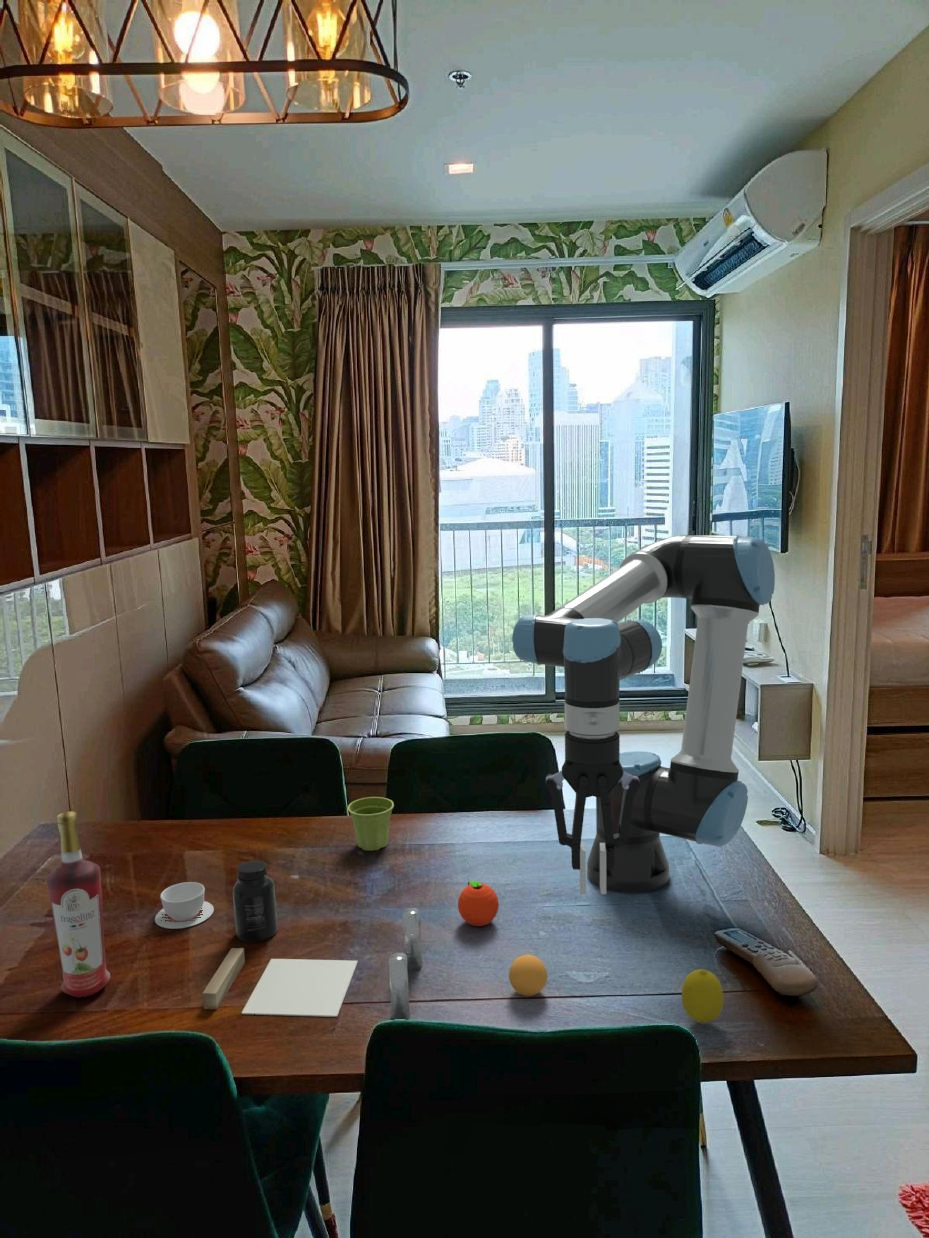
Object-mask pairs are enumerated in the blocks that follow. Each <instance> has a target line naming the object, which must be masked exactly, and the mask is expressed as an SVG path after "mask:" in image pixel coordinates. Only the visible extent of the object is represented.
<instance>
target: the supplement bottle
mask: <svg viewBox="0 0 929 1238" xmlns="http://www.w3.org/2000/svg"><path fill="white" fill-rule="evenodd" d="M267 868H268V867H267V863H266V862H264V861H262V860H250V861H246V862H243V863H241V864H240V865H238V866H237V868H236V869H237V871H236V872H237V876H236V878H237V881H236V883H235V884H234V886H233V888H232V898H233V909H234V921H235V931H236V932H235V933H236V936H237V938H238V939H239V940H241V941H242V942H245V943H260V942H262V941H263V942H264V941H266V940H268V939H270V938H272V937H273V936H274V935H275V934H276V933H277V932H278V931H277V930H278V915H277V902H276V892H275V889H276V888H275V883H274V880H273V879H272V878H271V877H269V876H268V869H267Z"/></svg>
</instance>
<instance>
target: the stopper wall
mask: <svg viewBox="0 0 929 1238" xmlns="http://www.w3.org/2000/svg"><path fill="white" fill-rule="evenodd" d="M245 964H246V960H245V948H244V947H238V948H235V947H232V948H230V950H229V951H228V953H227V954H226V955H225V957H224V959H223V960H222V962H221V964H220V965H219V967H218V969H217V970H216V972H215V973H214V974H213V976H212V978H211V979H210V981H209V982H208V984H207V986H206V987H205V989H204V990H203V992H202V1001H203V1002H202V1003H203V1009H204V1010H205V1009H206V1010H217V1009H219V1007H220V1005H221V1004H222V1002H223V1001H224V999H225V996H226V995H227V994H228V992H229V990H230V988H232V985H233V984H234V982H235V981H236V979H237V977H238V975H239V973H240V972H241V970H242V968H243V967H244V966H245ZM220 1003H221V1004H220Z"/></svg>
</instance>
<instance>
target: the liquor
mask: <svg viewBox="0 0 929 1238" xmlns="http://www.w3.org/2000/svg"><path fill="white" fill-rule="evenodd" d="M56 820H57V828H58V831H59V835H60V857H61V858H60V862H61V863H60V864H59V865H57V866H56V867H54V868H53V870H51V872H50V873H49V874H47V876H46V884H47V890H48V897H49V902H50V908H51V914H52V919H53V924H54V929H55V930H54V931H55V935H56V940H57V946H58V952H59V958H60V964H61V966H60V967H61V970H62V978H63V981H62V982H61V986H60V989H61V991H62V992H63V993H64V994H67V995H68V996H72V997H74V998H77V997H78V999H79V998H80V999H82V998H81V997H84V998H87V996H89V997H92V996H93V995H96V994H97V993H99V992H100V991H101V990H102V989H103V988H104V986H105V985H106V984H107V983H108V982H109V981H110V978H111V973H110V971H108V969H107V964H106V963H107V962H106V952H105V951H106V950H105V935H104V917H103V916H104V914H103V913H104V912H103V911H104V910H103V894H102V893H103V892H102V877H101V867H100V865H98V864H97V863H95V862H93V861H90V860H87V859H84V858H83V854H82V849H81V844H80V841H79V836H78V829H79V822H78V821H79V820H78V814H77V812H76V811H65V812H61V813H59V814H57V816H56ZM95 993H96V994H95ZM91 995H92V996H91Z"/></svg>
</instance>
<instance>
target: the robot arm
mask: <svg viewBox="0 0 929 1238" xmlns="http://www.w3.org/2000/svg"><path fill="white" fill-rule="evenodd" d="M775 577H776V575H775V566H774V560H773V556H772V553H771V550H770V548H769V546H768V545H767V544H766V542H765V541H764V540H762V539H760V538H759V537H751V536H744V535H743V536H742V535H737V534H736V535H694V534H693V535H692V534H680V535H673V536H669V537H666V538H663V539H659V540H657V541H655V542H652V543H650V544H647V545H645V546H643V547H642V548H641V547H640V548H639V549H637V550H636V551H634V552H632V553H631V554H629V555H628V556H626V557H625V558H624V559H623V560H622V561H621V563H620V565H619V568H618V569H616V570H615V571H613V572H611V573H610V574H608V575H607V576H606V577H604V578H602V579H600V581H598V582H596V583H595V584H593V585H592V586H590V587H588V588H587V589H585V590H584V591H582V592H581V593H579V594H577V595H576V596H574V597H573V598H572V599H570V600H569V601H567V602H565V603H563V605H561V606H560V607H557V608H556V609H554V610H553V611H552V612H550V613H548V614H546V615H541V614H539V613H537V614H536V613H535V614H525V615H523V616H521V617H520V618H519V619H518V620H517V622H516V623H515V625H514V626H513V631H512V637H511V642H512V649H513V653H514V654H515V656H516V658H518V659H519V660H521V661H523V662H526V663H527V662H528V663H533V664H536V665H537V666H538V665H539V666H540V665H545V666H552V667H559V668H563V670H564V671H563V673H564V678H563V679H564V703H563V704H564V706H563V707H564V729H565V730H566V732H565V733H564V763H563V764H562V767H561V770H560V771H558V772H556V773H553V774H552V773H547V774H546V776H545V786H546V787H547V790H548V791H549V793H550V795H551V799H552V805H553V810H554V817H555V825H556V826H555V827H556V830H557V832H556V833H557V837H558V843H559V845H561V846H568V847H569V848H570V850H571V867H572V870H579V890H580V891H579V892H580V895H587V893H586V891H587V890H586V889H587V885H586V884H587V883H586V882H587V880H586V879H587V877H588V879H589V880H590V881H591V882H592V883H593V884H594V885H597V886H598V887H599V890H600V895H607V890H608V891H611V892H616V893H621V894H622V893H623V894H644V893H650V892H653V891H656V890H659V889H660V888H661V889H662V888H663V887H664V886H665V885H666V884H667V883H668V882H669V880H670V865H669V862H668V858H667V855H666V852H665V849H664V847H663V843H662V840H661V835H660V834H663V835H667V836H671V837H675V838H679V839H683V840H688V841H692V842H695V843H696V844H697V845H709V846H712V847H713V846H714V847H723V846H726V845H728V844H729V843H731V842H732V840H733V839H734V838H735V837H736V835H737V834H738V832H739V829H740V828H741V826H742V823H743V821H744V817H745V815H746V813H747V811H746V810H747V806H748V801H749V796H748V792H749V791H748V787H747V785H746V784H745V783H743V782H742V781H741V780H738V779H739V773H740V772H739V771H740V770H739V769H738V767H737V766H736V764H735V763H734V761H733V759H732V755H733V747H734V746H733V745H734V738H735V730H736V723H737V722H736V721H737V716H738V715H737V714H738V708H739V699H740V692H741V691H740V690H741V683H742V675H743V674H742V673H743V666H744V658H745V651H746V645H747V644H746V643H747V636H748V635H747V634H748V629H749V628H748V627H749V624H750V622H751V621H753V620H755V619H756V618H757V617H758V616H759V613H760V606H764V605H768V604H769V603H770V602H771V600H772V598H773V595H774V593H775V583H776V578H775ZM663 598H674V599H675V598H676V599H678V598H679V599H686V600H687V599H689V600H690V599H691V603H690V609H691V610H692V611H693V612H694V614H695V615H696V617H697V625H696V632H695V639H694V648H693V655H692V662H691V670H690V671H691V672H690V678H689V679H690V680H689V687H688V694H687V702H686V709H685V717H684V724H683V733H682V740H681V749H680V751H679V752H678V753H677V754H675V755H674V756H673V757H671V758H670V765H669V767H664V766H662V760H661V757H660V755H657V754H656V753H653V752H649V751H626V752H621V751H620V747H621V746H620V742H621V740H620V738H621V737H620V733H619V732H618V731H619V729H620V727H621V726H620V681H622V680H623V679H626V678H628V677H630V676H631V677H632V676H633V675H636V674H639V673H643V672H645V671H646V670H647V669H648V668H650V667H652V666H653V665H654V664H656V662H657V661H658V660H659V659H660V657H661V654H662V650H663V641H662V638H661V634H660V633H659V630H657V628H656V627H655V626H654V625H653V624H651V623H650V622H649V621H647V620H643V619H633V620H632V619H628V620H625V621H623V622H622V620H623V619H624V618H626V617H627V616H629V615H630V614H631V613H633V612H634V611H635V610H637V609H638V608H639V607H641V606H643V604H644V605H645V604H652V603H655V602H657V601H659V600H660V599H663ZM564 780H565V781H566V783H567V784H568V785H569V787H570V788H571V789H572V790H573V791H574V793H575V800H574V801H575V802H574V810H573V820H572V828H571V833H568V830H567V826H566V817H565V810H564V805H563V797H562V792H561V789H562V788H564V785H563V784H564V783H563V781H564ZM590 797H595V813H596V814H595V817H596V827H595V828H596V830H595V831H596V833H595V837H594V839H593V844H592V847H591V849H590V852H589V855H588V858H587V859H586V854H587V851H586V843H585V842H582V836H583V835H582V834H583V825H584V816H585V809H586V801H587V798H590ZM586 860H587V861H586ZM586 865H587V867H586Z"/></svg>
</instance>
